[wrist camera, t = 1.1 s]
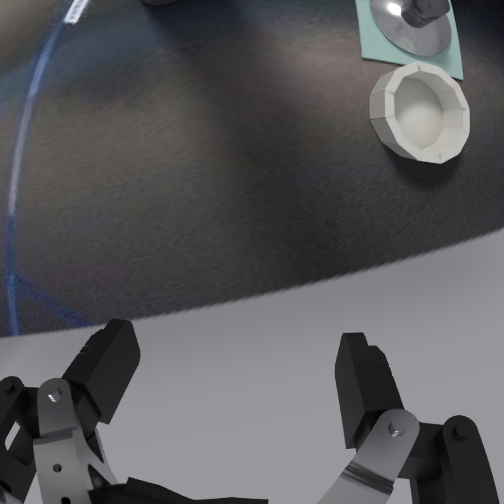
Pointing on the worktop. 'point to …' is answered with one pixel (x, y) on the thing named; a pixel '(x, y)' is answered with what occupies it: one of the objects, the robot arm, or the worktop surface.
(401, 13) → the lid
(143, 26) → the worktop surface
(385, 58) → the mat
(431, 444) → the robot arm
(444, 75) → the dish
